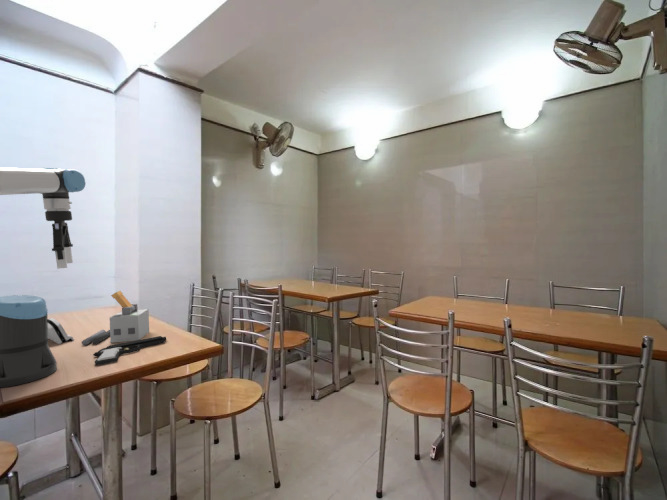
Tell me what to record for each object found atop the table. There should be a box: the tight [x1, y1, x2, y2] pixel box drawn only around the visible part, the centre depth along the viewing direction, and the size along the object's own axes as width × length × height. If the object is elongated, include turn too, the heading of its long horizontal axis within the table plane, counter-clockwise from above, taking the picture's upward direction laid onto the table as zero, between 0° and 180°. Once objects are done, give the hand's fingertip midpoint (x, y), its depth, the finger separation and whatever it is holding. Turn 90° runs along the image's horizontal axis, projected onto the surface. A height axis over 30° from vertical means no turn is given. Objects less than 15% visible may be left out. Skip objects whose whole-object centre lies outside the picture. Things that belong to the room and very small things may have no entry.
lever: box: [110, 290, 136, 312], centre depth 128 cm, size 2×5×10 cm
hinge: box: [47, 317, 75, 345], centre depth 127 cm, size 17×5×10 cm, turn 55°
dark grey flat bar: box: [81, 329, 110, 346], centre depth 126 cm, size 5×14×2 cm, turn 14°
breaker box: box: [109, 303, 150, 344], centre depth 128 cm, size 10×12×13 cm
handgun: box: [92, 335, 167, 366], centre depth 111 cm, size 3×23×15 cm
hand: (65, 265), depth 121 cm, fingers open, 13 cm apart
